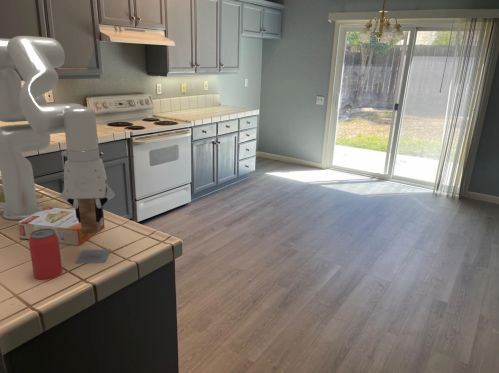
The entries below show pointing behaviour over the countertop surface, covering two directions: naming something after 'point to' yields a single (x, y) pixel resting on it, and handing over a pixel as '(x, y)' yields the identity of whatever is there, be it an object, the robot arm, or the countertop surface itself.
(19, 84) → the robot arm
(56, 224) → the cracker box
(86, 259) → the mat
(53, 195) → the countertop surface
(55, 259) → the beer can
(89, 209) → the walnut block
